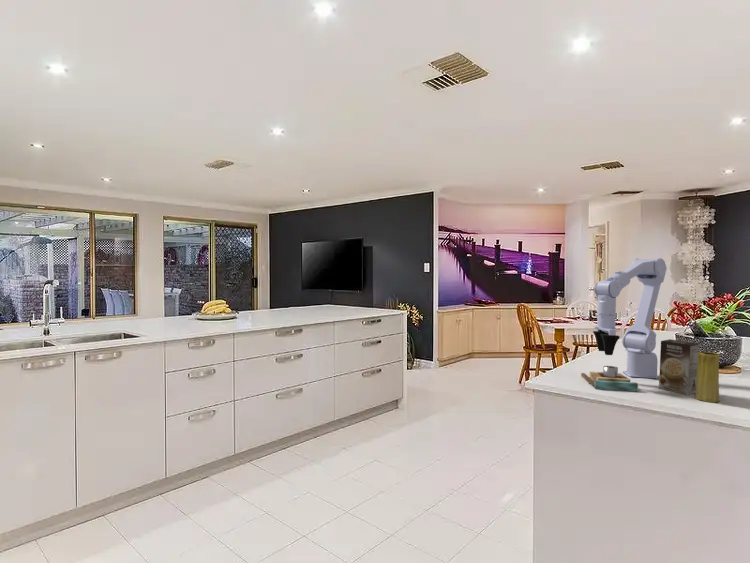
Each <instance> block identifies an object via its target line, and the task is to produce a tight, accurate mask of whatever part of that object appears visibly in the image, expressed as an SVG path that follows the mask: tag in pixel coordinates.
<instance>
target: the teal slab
mask: <svg viewBox="0 0 750 563" xmlns="http://www.w3.org/2000/svg"><path fill="white" fill-rule="evenodd" d="M580 374H581V378H583V379H584V380H585V381H586V382H587V383H588V382H589V383H590V384H591V385H590V386H591V387H592V388H593V389H595V390H610V391H624V392H638V390H639V383H638V382H635V381H634V382H632V381H630V382H617V381H598V380H594V381H593V380H592V379H591V378H589V377H590V376H588V374H586V373H584V372H581V373H580ZM589 383H588V384H589Z"/></svg>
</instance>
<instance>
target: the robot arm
mask: <svg viewBox="0 0 750 563" xmlns="http://www.w3.org/2000/svg"><path fill="white" fill-rule="evenodd" d="M667 267H668V266H667V264H666V261H665V260H664V259H663V258H661V257H659V258H638V257H637V258H635V259H634V260H632V261H631V265H629V266H628V267H627V268H625V270H616V271H615V272H614V273H613V274H612V275H610V276H608V277H607V278H606V279H604V280H599V281H598V282H596V284H595V286H594V289H593V292H594V294H595V299H596V301H597V311H596V312H597V313H596V314H597V315H596V316H597V319H596V320H597V321H596V326H595V325H593V329H595V330H593V331H592V333H593V334H594V337H595V340H596V344H597V349H598V351H599V352H604V355H606V356H613V355H614V351H615V349H616V348H615V347H616V344H617V342H618V341H619V339H620V337H621V336H620V335H616V334H617V329H616V328H617V327H616V317H617V316H616V309H617V298H618V297H619V295H620V293H621V291H622V290H623V289H624V288H625V287H627V286H628V285H629V284H630V283H631V280H632V279H633V278H635V277H636V279H637V280H638V281H639V282H640V283H642V284H643V289H642V291H641V292H642V293H641V296H640V301H639V303H638V307H637V308H638V309H637V312H636V316H635V320H634V323H633V324H632V325H630V326H629V327H627V328H626V330H625V332H624V334H623V336H622V339H621V343H622V346H623V347H624V348H625V351H627V355H626V356H627V358H626V370H622V373H624V374H625V375H627V377H628V376H629V377H630V378H634V377H635V378H648V379H659V377H658V364H659V361H658V355H657V354H656V353H655V352H653V351H654V350H655V349H656V345H657V340H656V339H657V334H656V332H655V331H654V330H653V329H652V328H651V326H652V321H653V316H654V313H655V309H656V306H657V305H656V304H657V300H658V297H659V294H660V289H661V285H662V283H664V280H665V277H666V273H667Z"/></svg>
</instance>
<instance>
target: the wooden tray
mask: <svg viewBox="0 0 750 563" xmlns="http://www.w3.org/2000/svg"><path fill="white" fill-rule="evenodd" d="M588 377H589V378H591V379H592V380H593V381H594V380H598V381H617V382H631V379H630V378H629V377H628V376H626V375H624V374H622V373H620V372H618V378H608V377H603V371H589V376H588Z"/></svg>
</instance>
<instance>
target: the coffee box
mask: <svg viewBox="0 0 750 563" xmlns="http://www.w3.org/2000/svg"><path fill="white" fill-rule="evenodd" d="M699 345H700V344H699V343H696V342H691V341H689V342H688V341H683V340H676V339H671V338H670V339H665V340H664V339H663V340H661V341H660V350H659V351H660V355H659V359H660V360H659V377H658V389H662V390H666V391H670V392H674V393H678V392H679V393H680V394H684V395H687V394H688V395H691V394H694V393H695V394H696V381H697V367H698V352H699ZM679 393H678V394H679Z"/></svg>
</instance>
